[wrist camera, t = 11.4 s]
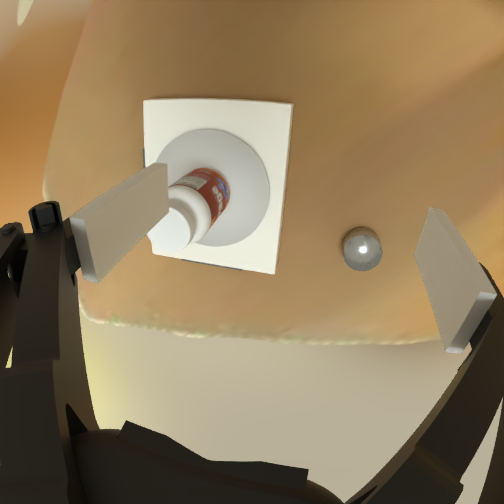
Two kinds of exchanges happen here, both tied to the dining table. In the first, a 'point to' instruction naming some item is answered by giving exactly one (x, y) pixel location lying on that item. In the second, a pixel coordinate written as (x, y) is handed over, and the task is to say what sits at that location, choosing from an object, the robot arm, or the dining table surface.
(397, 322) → the dining table surface
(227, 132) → the scale
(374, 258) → the shiny grey dome
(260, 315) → the dining table surface
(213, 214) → the pill bottle
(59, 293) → the robot arm
